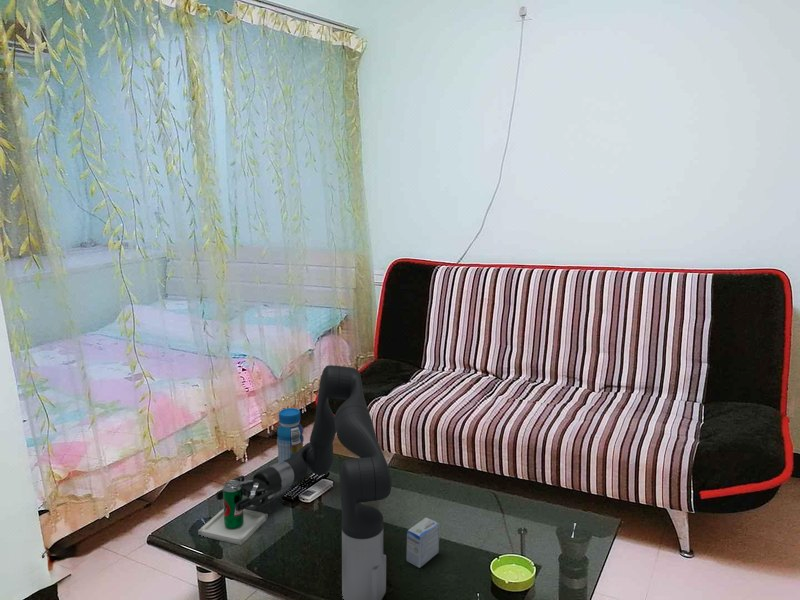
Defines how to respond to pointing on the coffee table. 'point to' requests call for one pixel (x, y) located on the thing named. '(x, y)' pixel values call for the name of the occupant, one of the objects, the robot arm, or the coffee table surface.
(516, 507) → the coffee table surface
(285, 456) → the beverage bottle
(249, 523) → the tray
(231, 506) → the soda can
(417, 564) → the medicine box
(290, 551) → the coffee table surface
